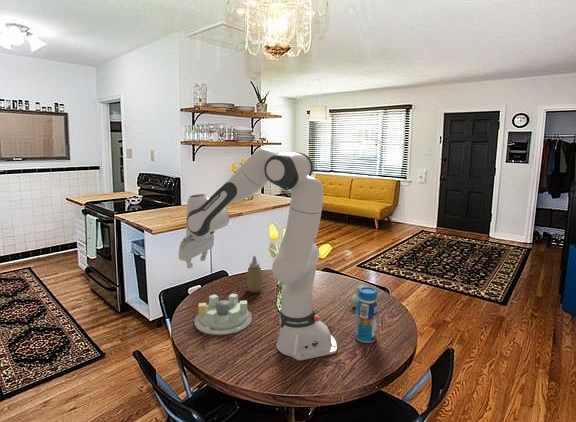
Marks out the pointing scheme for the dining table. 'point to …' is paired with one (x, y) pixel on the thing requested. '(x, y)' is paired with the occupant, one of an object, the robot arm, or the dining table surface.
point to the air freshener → (356, 296)
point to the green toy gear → (223, 312)
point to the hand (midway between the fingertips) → (196, 263)
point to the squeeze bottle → (254, 276)
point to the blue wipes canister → (366, 315)
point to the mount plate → (225, 331)
